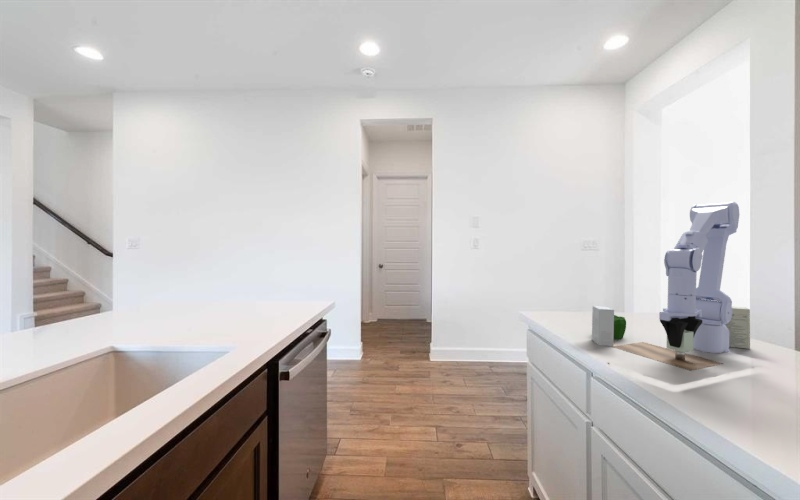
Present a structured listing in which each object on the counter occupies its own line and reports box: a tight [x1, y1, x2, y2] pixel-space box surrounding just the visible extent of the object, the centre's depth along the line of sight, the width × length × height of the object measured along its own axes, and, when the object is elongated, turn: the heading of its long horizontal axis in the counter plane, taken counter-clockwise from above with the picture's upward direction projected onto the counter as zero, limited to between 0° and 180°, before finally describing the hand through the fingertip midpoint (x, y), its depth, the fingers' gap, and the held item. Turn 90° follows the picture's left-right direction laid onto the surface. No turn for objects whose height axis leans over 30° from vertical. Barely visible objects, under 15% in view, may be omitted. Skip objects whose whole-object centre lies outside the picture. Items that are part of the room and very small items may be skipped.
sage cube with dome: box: [666, 330, 694, 353], centre depth 89 cm, size 4×4×5 cm
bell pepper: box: [614, 314, 627, 340], centre depth 111 cm, size 8×8×10 cm
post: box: [675, 350, 686, 360], centre depth 89 cm, size 2×2×3 cm
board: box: [611, 341, 724, 371], centre depth 93 cm, size 14×20×1 cm
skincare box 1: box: [591, 305, 615, 347], centre depth 104 cm, size 6×4×12 cm
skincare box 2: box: [724, 306, 751, 350], centre depth 105 cm, size 6×4×12 cm
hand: (680, 345), depth 89 cm, fingers closed on sage cube with dome, 4 cm apart
